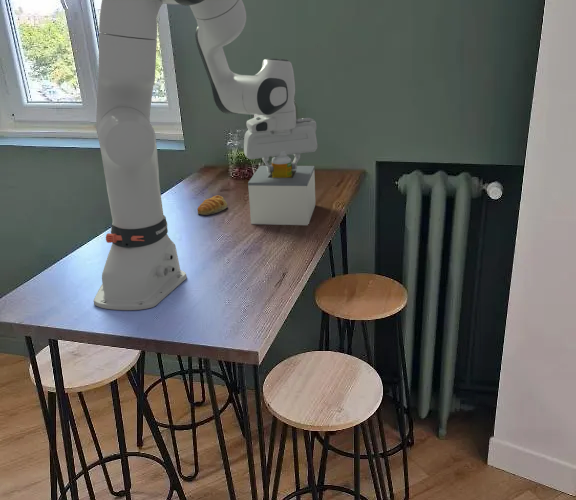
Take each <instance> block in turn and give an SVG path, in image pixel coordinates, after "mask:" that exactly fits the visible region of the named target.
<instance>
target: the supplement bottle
mask: <svg viewBox="0 0 576 500" xmlns="http://www.w3.org/2000/svg"><path fill="white" fill-rule="evenodd" d="M291 162H292V158H291V157H290V156H289V155H286V153H285V151H283V152H281V153H280V155H279V156H273V157H272V158H271V165H272V166H273V172H272V175H273V178H292V167H291Z"/></svg>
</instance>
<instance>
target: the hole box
mask: <svg viewBox="0 0 576 500" xmlns="http://www.w3.org/2000/svg"><path fill="white" fill-rule="evenodd" d="M315 177H316V176H315V165H297V169H294V170H292V178H273V175H272V172H270V173H268V172H267V166H266V165H259V167H258V168H257V170H256V171H255V172H254V173H253V175H252V177H251V178H250V179H249V180H248V182H247V186H248V200H249V201H248V202H249V211H250V212H249V215H250V224H251V225H271V226H272V225H275V226H277V225H278V226H279V225H281V226H286V225H287V226H309V225H308V224H310V222H311V218H312V216H313V214H314V211H315V207H316V181H315V179H316V178H315Z"/></svg>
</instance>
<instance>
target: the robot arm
mask: <svg viewBox="0 0 576 500" xmlns="http://www.w3.org/2000/svg"><path fill="white" fill-rule="evenodd" d="M100 4H101V5H100V13H99V24H98V26H99V27H98V70H97V71H98V76H97V90H96V91H97V93H96V94H97V95H96V96H97V97H96V122H95V123H96V124H95V128H96V134H97V140H98V142H99V148H100V153H101V159H102V166H103V173H104V178H105V183H106V191H107V195H108V196H107V198H108V203H109V208H110V214H111V219H112V222H111V228H110V233H107V234H106V235H105V242H106V243H108V244H110V243H111V247H110V250H109V252H108V255H107V258H106V260H105V264H104V267H103V269H102V272H101V273H102V274H101V282H102V284H101V285H100V287H99V289H98V291H97V293H96V295H95V296H94V298H93V305H94V306H97V307H98V308H102V309H106V310H107V309H108V310H115V311H138V310H145V309H151V308H154V307H155V306H157V305H158V304H159V303H161V301H162V300H164V299H165V298H166V297H168V295H169V294H171V293H172V292H173V291H174V290H175V289H176V288H177V287H178V286H180V285H181V284H182V283H183V282H184V281H185V280H186V279H187V278H188V276H187V275H188V274H187V273H186V272H185V271H184V270H182V269H181V265H180V262H179V256H178V252H177V248H176V244H175V243H174V241H172V240H171V238H170V237H169V235H168V233H169V230H168V221H167V217H166V216H165V215H164V210H163V201H162V195H161V187H160V172H159V159H158V157H159V155H158V146H157V137H156V133H155V129H154V128H153V125H152V124H151V119H150V115H151V105H152V100H153V92H154V91H153V90H154V87H155V86H154V85H155V81H156V66H157V62H156V61H157V48H158V47H157V46H158V44H157V43H158V41H157V40H158V18H157V17H158V15H159V14H158V13H159V11H160V9H161V7H162V6H163V4H164V5H182V6H187V7H189V8H190V10H191V12H192V15H193V17H194V19H195V20H196V25H197V27H196V28H195V29H196V30H195V41H196V42H195V43H196V46H197V49H198V53H199V55H200V58H201V60H202V64H203V66H204V67H203V68H204V70H205V72H206V75H207V78H208V81H209V83H210V87H211V93H212V97H213V102H214V104H215V106H216V107H217V108H218V110H219V111H220V112H221V113H223V114H227V115H229V114H231V115H233V114H234V115H236V114H240V115H241V114H242V115H253V116H254V115H255V117H252V118H250V119H247V120H246V124H245V125H246V128H247V129H248V130H246V131H245V133H244V135H243V136H244V137H243V138H244V139H243V153H244V156H245V157H246V158H247V159H249V160H254V159H255V160H256V159H262V161H263V163H264V164H265V166H267V172H268V173H270V172H273V166H272V164H269V161H270V158H274V157H275V156H279V155H280V153H281V152H283V151H285V153H286V155H288V156H289V155H293V156H294V158H293V161H291V167H292V170H294V169H297V166H298V163H299V161H300V159H301V156H302V155H301V154H305V153H306V154H307V153H314V152H316V151H317V149H318V140H317V139H318V138H317V134H316V131H317V122H316V120H315V119H313V118H311V117H304V118H297V111H296V110H297V109H296V104H295V95H296V83H295V82H296V80H295V74H294V73H295V72H294V68H293V64H292V62H291V61H289V60H288V59H285V58H264V59H263V60H262V63H261V69H260V70H259V71H258V72H257V73H255V74H254V75H249V74H239V73H236V72H233V71H232V70H231V69H230V66H229V63H228V59H227V57H226V54H225V51H224V47H225V46H227V45H229V44H230V43H233V42H234V41H235V40H236V39H237V38H238V37H239V36H240V35H241V33H242V32H243V30H244V28H245V26H246V23H247V11H246V7H245V4H244V2H243V0H101V3H100Z"/></svg>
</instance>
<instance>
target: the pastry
mask: <svg viewBox="0 0 576 500" xmlns="http://www.w3.org/2000/svg"><path fill="white" fill-rule="evenodd" d="M227 208H228V203H227V201H226V200H225V198H224V197H223V196H222V195H219V194H217V195H213V196H212V197H209V198H206V199H204V200H203V202H202V203H200V205H199V206H198V207H197V214H198V215H199V214H200V215H203V216H209V215H213V214H216V213H220V212H222V211H224V210H226V209H227Z"/></svg>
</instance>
